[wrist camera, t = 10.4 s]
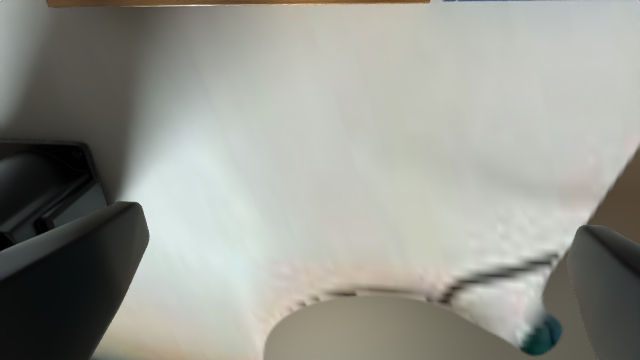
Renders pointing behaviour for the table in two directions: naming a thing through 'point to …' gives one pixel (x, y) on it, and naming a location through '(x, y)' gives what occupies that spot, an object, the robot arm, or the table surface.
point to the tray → (486, 0)
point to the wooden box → (215, 2)
